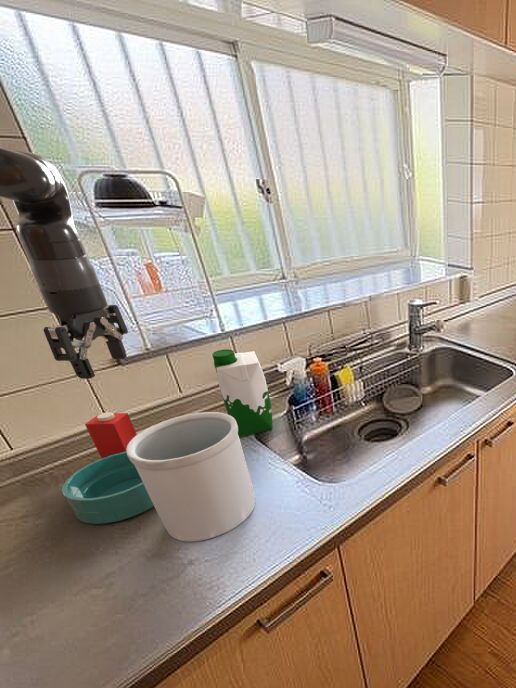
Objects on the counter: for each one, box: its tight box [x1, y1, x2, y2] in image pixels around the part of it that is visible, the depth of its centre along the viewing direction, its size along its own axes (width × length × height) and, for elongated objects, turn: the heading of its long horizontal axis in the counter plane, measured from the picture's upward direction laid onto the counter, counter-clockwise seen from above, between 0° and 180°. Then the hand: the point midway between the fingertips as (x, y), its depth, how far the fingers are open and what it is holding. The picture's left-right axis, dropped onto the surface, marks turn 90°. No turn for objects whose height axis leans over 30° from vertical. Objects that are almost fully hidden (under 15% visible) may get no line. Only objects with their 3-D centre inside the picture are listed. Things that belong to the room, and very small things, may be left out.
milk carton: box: [212, 348, 273, 438], centre depth 98 cm, size 9×9×20 cm
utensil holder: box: [126, 411, 256, 542], centre depth 73 cm, size 15×15×18 cm
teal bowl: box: [61, 452, 154, 525], centre depth 78 cm, size 14×14×6 cm
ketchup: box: [84, 411, 138, 459], centre depth 85 cm, size 5×4×12 cm
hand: (104, 367), depth 80 cm, fingers open, 8 cm apart
